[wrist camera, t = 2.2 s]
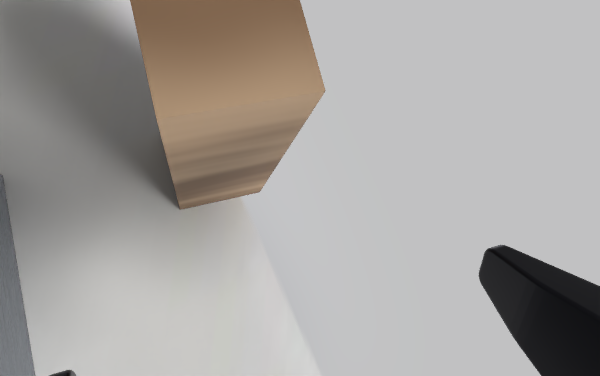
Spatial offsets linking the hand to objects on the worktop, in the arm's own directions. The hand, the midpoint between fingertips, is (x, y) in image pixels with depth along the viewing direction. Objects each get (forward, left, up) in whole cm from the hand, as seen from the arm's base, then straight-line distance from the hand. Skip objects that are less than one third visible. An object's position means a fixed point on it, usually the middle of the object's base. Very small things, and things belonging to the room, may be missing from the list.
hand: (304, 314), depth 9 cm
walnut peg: (+6, -2, -13) cm, 15 cm away
